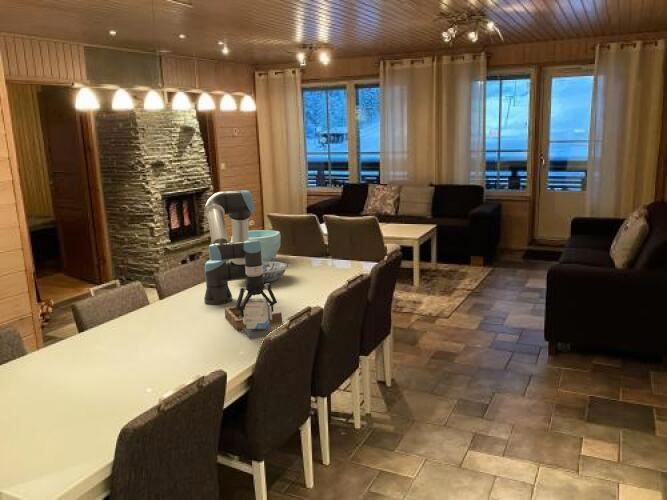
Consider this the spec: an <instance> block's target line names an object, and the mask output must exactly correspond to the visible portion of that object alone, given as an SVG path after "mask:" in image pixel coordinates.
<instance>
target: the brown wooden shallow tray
mask: <svg viewBox="0 0 667 500" xmlns="http://www.w3.org/2000/svg"><path fill="white" fill-rule="evenodd" d="M244 310H245V308H244ZM224 315H225V316H224V317H225V319H226V320H227V321H228V323H229V324H230V325H231V326H232V327H233V329H234V330H235V331H236V332H241V331H242V327H246V324H244V323H243V318H238V317H241V316H240V310H237V309H236V305H235V306H231V307H224ZM269 322H270V323H269V325H270V326H275V325H281V324H283V313H282V312H281V311H280V312H275V313H274V312H273V313H272V320H270V319H269Z"/></svg>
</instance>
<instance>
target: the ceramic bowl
mask: <svg viewBox="0 0 667 500" xmlns="http://www.w3.org/2000/svg"><path fill="white" fill-rule="evenodd" d="M289 268H290V264H289V263H286V262H283V261H275V260H274V261H272V260H271V261H262V270H263V273H262V275H263V283H269V282H273V281H276V280H277V279H280V278H281V277H282V276H283V275H284V274H285V272H286V270H288V269H289Z"/></svg>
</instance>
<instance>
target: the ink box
mask: <svg viewBox="0 0 667 500" xmlns="http://www.w3.org/2000/svg"><path fill="white" fill-rule="evenodd" d="M268 305H269V303H268V301H267V300H266V299H265V298H250V299H249V301H248V303H247V304H246V306H245V313H246V327H247V329H265V328H266V327H267V325H268V324H269V323H270V322H269V310H268Z"/></svg>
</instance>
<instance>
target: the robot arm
mask: <svg viewBox="0 0 667 500" xmlns="http://www.w3.org/2000/svg"><path fill="white" fill-rule="evenodd" d="M251 193H252V192H250V190H244V189H243V190H242V189H241V190H231V191H218V192H215V193H214V194H212V195H211V196H210V197H209V198H208V200H207V201H206V203H205V205H204V215H205V217H206V218H207V220H208V226H209V227H208V228H209V233H210V240H211V244H209V245H208V254H209V260H207V261H206V262H205V264H204V274H205V275H204V276H205V284H206V287H205V288H206V289H205V294H204V298H203V300H204V301H203V302H204V303H205V304H207V305H222V304H226V303H230V302H232V300H233V295H232V292H231V290H230V287H229V283H228V282H233V281H241V280H245V282H246V286H245V287H244V286H243V287H242V286H240V287H239V294H238V296H237V300H236V301H237V302H236V303H235V306H236V309H237V310H240V316H239V317H241V318H242V319H243V323H244V324H246V313H245V310H244V308H245V306H246V304H247V303H248V301H249V299H252V296H260V295H261V296H263V299H266V300H267V301H268V310H269V319H270V320H272V314H273V313H274V306H275V304H277V303H278V300H277V299H276V296H275V294H274V292H273V290H272V286H271V283H269V282H266V283H265V282H263V275H262V273H263V270H262V256H261V243H260V241H259V240H256V239H252V240H249V235H248V231H249V219H250V218H251V217H252V213H255V207H254V202H253V197H252V194H251ZM225 215H228V217H229V219H231V235H232V236H231V237H232V243H231V242H229V237H228V231H227V227H226V222H225V217H224V216H225ZM264 283H265V284H264ZM264 289H267V291H268V294H269V296H270V298H271V299H270V298H269V296H268V295H266V293H265V292H264ZM246 291H247V293H246V294H245V292H246ZM244 294H245V297H244Z"/></svg>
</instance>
